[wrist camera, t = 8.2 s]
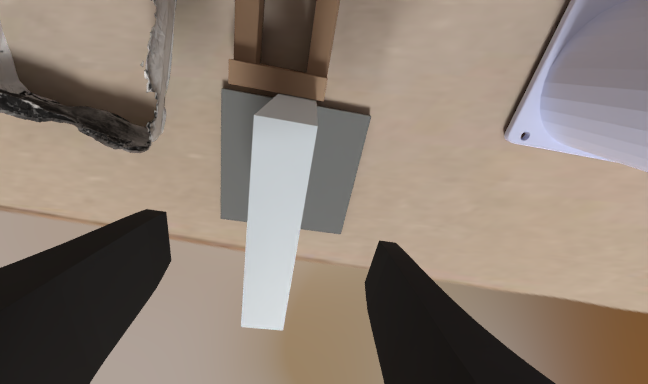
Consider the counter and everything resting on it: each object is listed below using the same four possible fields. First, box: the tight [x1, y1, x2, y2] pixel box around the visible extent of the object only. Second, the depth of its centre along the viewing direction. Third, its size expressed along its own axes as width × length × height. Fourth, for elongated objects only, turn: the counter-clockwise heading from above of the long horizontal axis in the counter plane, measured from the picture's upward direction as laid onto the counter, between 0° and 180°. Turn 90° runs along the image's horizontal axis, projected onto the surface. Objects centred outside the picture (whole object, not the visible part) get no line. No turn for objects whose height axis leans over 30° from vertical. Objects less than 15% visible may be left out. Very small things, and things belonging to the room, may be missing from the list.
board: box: [241, 93, 318, 330], centre depth 12 cm, size 2×9×7 cm, turn 170°
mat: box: [221, 88, 371, 234], centre depth 16 cm, size 8×8×1 cm
